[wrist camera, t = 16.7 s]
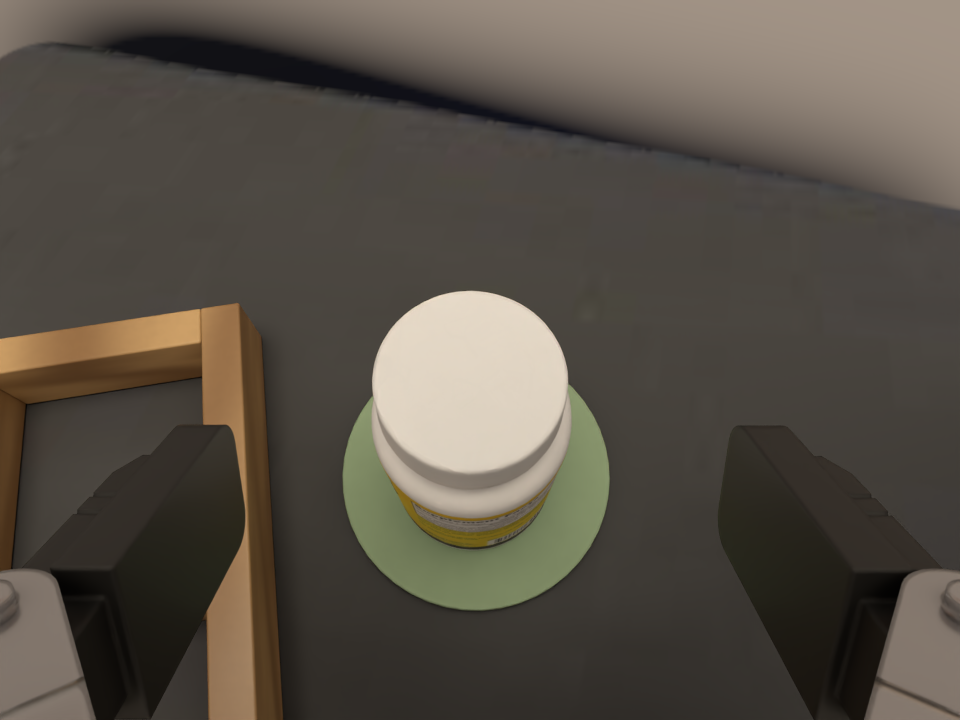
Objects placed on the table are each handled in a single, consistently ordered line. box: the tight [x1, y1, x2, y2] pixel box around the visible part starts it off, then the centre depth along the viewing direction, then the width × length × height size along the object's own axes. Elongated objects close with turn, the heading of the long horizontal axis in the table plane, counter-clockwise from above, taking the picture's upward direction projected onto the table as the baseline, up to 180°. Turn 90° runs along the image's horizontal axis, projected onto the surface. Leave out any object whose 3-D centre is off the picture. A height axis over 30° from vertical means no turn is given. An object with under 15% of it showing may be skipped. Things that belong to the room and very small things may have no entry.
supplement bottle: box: [371, 291, 572, 550], centre depth 18 cm, size 5×5×8 cm
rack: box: [0, 303, 283, 720], centre depth 19 cm, size 9×17×2 cm, turn 10°
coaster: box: [343, 384, 610, 611], centre depth 22 cm, size 8×8×1 cm
